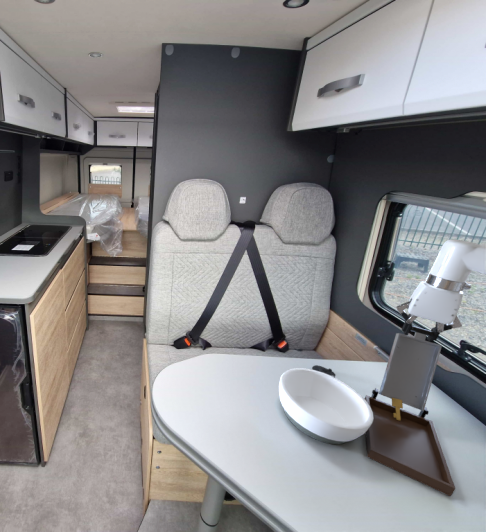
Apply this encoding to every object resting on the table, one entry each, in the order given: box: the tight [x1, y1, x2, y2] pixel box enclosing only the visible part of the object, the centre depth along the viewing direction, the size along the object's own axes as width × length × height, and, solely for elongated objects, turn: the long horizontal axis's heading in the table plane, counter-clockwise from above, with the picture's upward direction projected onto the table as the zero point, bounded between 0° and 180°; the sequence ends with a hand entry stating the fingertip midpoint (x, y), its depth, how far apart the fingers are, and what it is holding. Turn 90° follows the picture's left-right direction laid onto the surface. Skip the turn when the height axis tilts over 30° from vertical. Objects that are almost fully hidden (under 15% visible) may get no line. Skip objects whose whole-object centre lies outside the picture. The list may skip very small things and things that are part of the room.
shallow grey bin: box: [378, 325, 443, 411], centre depth 91 cm, size 23×10×3 cm
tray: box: [364, 394, 456, 497], centre depth 82 cm, size 24×16×3 cm, turn 146°
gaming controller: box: [311, 364, 337, 378], centre depth 103 cm, size 10×5×6 cm
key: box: [391, 398, 404, 421], centre depth 90 cm, size 6×2×1 cm
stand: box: [370, 387, 430, 418], centre depth 92 cm, size 2×13×5 cm, turn 56°
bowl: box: [278, 367, 374, 445], centre depth 86 cm, size 22×22×8 cm
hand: (417, 336), depth 93 cm, fingers closed on shallow grey bin, 5 cm apart
